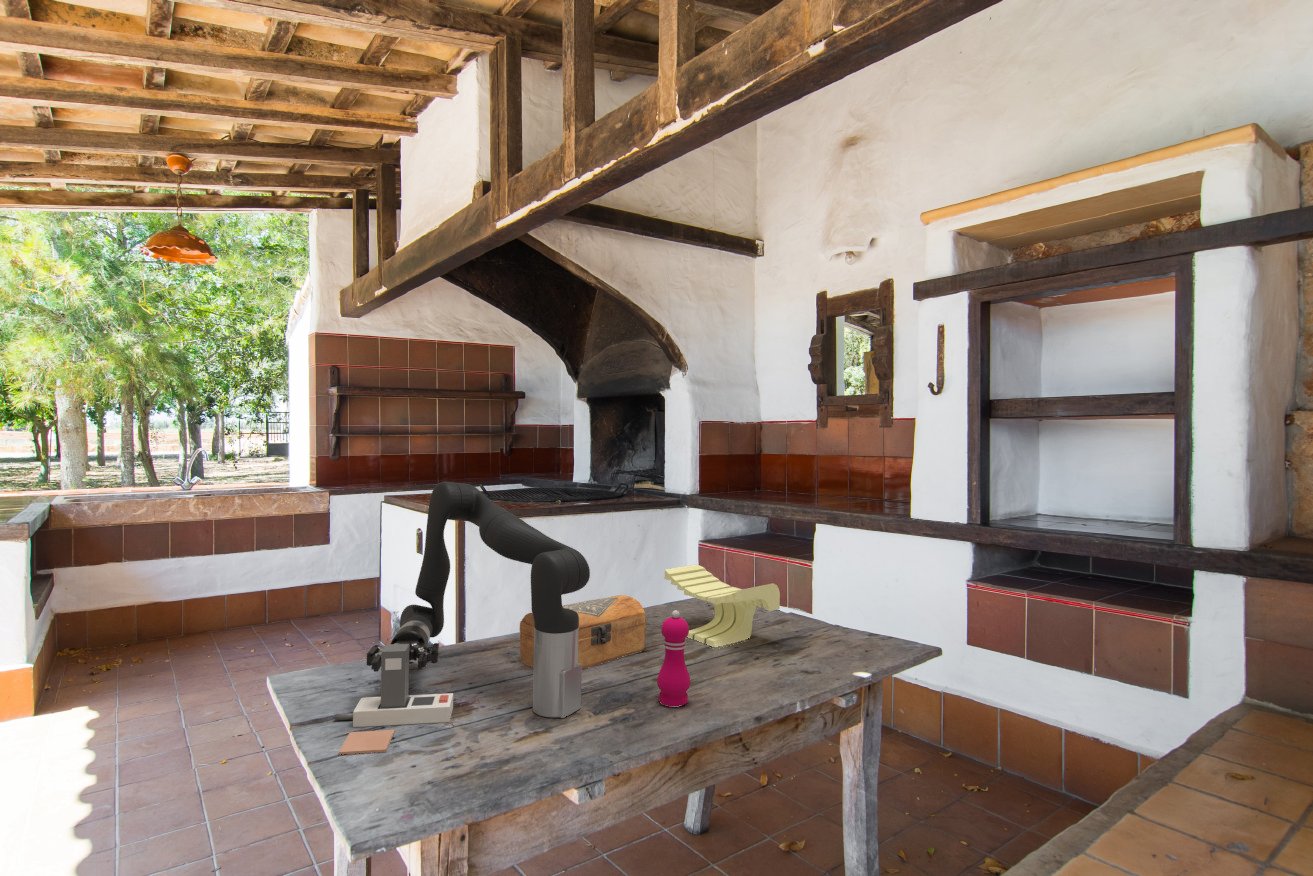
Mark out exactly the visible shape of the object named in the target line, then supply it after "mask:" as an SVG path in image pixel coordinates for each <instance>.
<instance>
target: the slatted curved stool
mask: <svg viewBox="0 0 1313 876" xmlns="http://www.w3.org/2000/svg"><path fill="white" fill-rule="evenodd" d="M664 580H666V581H670V585H673V586H677V587H676V589H677V590H679V591H683V595H685V596H688V597H691V598H695V599H698V600H701V601H707V602H708V603H711V604H712V605H713V608H714V617H713V618H712V620H711V621H709V622H708V623H706V624H704V625H702V626H698V627H696V628H693V629H689V634H688V636H687V637H688V638H691V639H694V640H697V641H699V642H702V643H706V644H707V645H710V646H712V647H718V646H723V645H726V644H731V643H735V642H738V641H741V640H745V639H748V638H749V639H750V638H751V636H752V632H753V631H752V630H753V621H754V616H755V612H756V610H757V607H758V608H763V609H764V610H766V611H768V612H772V611H778V610H781V609H780V606H781V605H780V603H781V602H780V600H781V599H780V598H781V593H780V588H779V586H778V585H777V584H776V583H773V582H772V583H768V584H762V585H759V586H757V585H756V586H752V587H749V588H743V589H742V588H739V587H735V586H732V585H729V584H727V583H725V582H722V581H721V580H720V579H719V578H718V577H715V576H714V574H713V573H711V572H710V571H707V568H705V567H704V566H701V565H699V564H693V565H692V564H691V565H685V566H678V567H674V568H673V567H672V568H666V569H664ZM694 640H693V641H694ZM706 644H705V645H706Z"/></svg>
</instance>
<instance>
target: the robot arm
mask: <svg viewBox="0 0 1313 876" xmlns="http://www.w3.org/2000/svg"><path fill="white" fill-rule="evenodd" d="M448 520H451V521H465V522H469V523H472V524H473V525H475V526H477V527H478V532H479V537H480V540H481V541H482V542H483V544H484V545H485V546H487V547H489V548H490V550H492V551H494V552H495V553H496V554H498V555H500V556H501V557H503V558H506V559H508V560H511V561H516V562H520V563H523V564H528V565H531V567H530V568H531V570H530V598H531V599H530V600H531V607H530V608H531V613H532V614H533V617H534V664H533V670H532V671H533V673H532V677H533V678H532V712H533V713H535V714H536V715H538V716H540V717H545V718H561V719H564V718H567V717H568V716H570V715H572V714H573V713H575V712H577V711H579V710H580V709H581V708H582V678H583V677H582V671H583V670H582V664H581V663H578V634H579V616H578V613H577V612H575V611H573V610H570V609H567V608H563V607H562V606H563V600H562V595H567V594H571V593H575V592H578V591H580V590H581V589H583V588H585V586H587V584H588V583H589V580H590V578H591V577H590V575H591V569H590V566H589V563H588V561H587V559H586V558H585V557H584V555H583V554H582V553H581V552H579V551H578V550H577V549H575V548H573V547H571V546H569V545H567V544H564V543H563V542H560V541H557V540H555V539H553V538H551V537H550V536H549V535H548V536H547V534H545V533H543V532H542V531H540V530H538V529H536V528H535V527H533V525H532V526H531V525H530V524H528V522H525V520H523V519H522V518H520V517H518V516H517V515H515V514H513V513H512V512H510V511H508V510H506V509H504V507H502V506H501V505H498V504H497V503H495V502H493V501H492V500H491V499H490V498H488V497H487V496H486V494H484V493H483V492H482V491H481V490H480V489H478V488H477V487H476V486H474V485H472V484H469V483H462V482H454V481H442V482H439V483H436V485H435V486H434V488H433V489H432V491H431V495H430V498H429V503H428V510H427V521H426V530H425V543H424V550H423V552H424V553H423V556H422V557H423V559H422V563H421V567H420V571H419V574H418V578H417V581H416V582H417V583H416V586H415V591H414V594H415V595H416V597H417V598H419V599H421V600H422V601H425V602H426V603H428V604H429V605H430V607H429V606H424V605H418V604H409V605H407V606H406V607H404V608H403V610H402V612H401V614H400V619H399V629H398V630H397V632H396V633H395V635H393V638H392V639H391V642H390V644H409V665H410V664H411V665H412V664H416V665H417V670H418V671H422V670H423V668H424V669H425V668H427V667H426V666H427V665H428V664H429V662H431V664H437V663H438V661H439V656H440V654H439V653H440V648H439V647H440V643H438V642H435V643H433V645H430V646H429V644H430V639H431V638H435V637H437V636H439V634H440V633H442V631H443V629H444V624H445V612H444V601H445V600H444V598H445V593H446V589H447V585H448V580H449V578H450V573H451V560H450V556H449V552H448V550H447V546H446V541H445V537H444V535H445V528H446V525H447V521H448ZM383 649H384V648H381V647H380V645H378V644H375V645H373V646H372V647H371V648H370V649H369V650H368V651H367V652H366V666H369V667H371V670H373V672H375V673H376V672H379V670H381V654H382V650H383ZM566 716H567V717H566Z"/></svg>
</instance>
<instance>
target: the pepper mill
mask: <svg viewBox="0 0 1313 876" xmlns="http://www.w3.org/2000/svg"><path fill="white" fill-rule="evenodd" d="M680 613H681V612H679V610H676V609H675V610H673V611H672V612H671V617H668V618H666V619H665V620H664V621H663V622H662V624H661V628H660V629H661V631H660V632H661V634H662V636H663V637H664V638H663V641H662V642H663V644H662V646H663V648H664V660H663V662H662V665H661V667H660V669H659V672H658V674H657V681H656V683H657V687H658V689H659V690H660V692H659V694H658V702H659V701H660V702H661V703H662V704H664V705H668V706H679V705H684V704H686V703H687V702H688V700H689V698H688V697H689V696H688V695H689V694H688V690H689V689H690V688H691V677H690V673H689V671H688V668H687V666H686V665H687V664H686V662H685V648H687V640H686V639H687V638H686V637H687V636H688V634H689V630H690V628H689V624H688V622H687V621H686V619H684V618H682V617H680V615H681V614H680ZM688 703H689V702H688ZM688 703H687V704H688ZM662 704H661V705H662ZM687 704H686V705H687Z"/></svg>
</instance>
